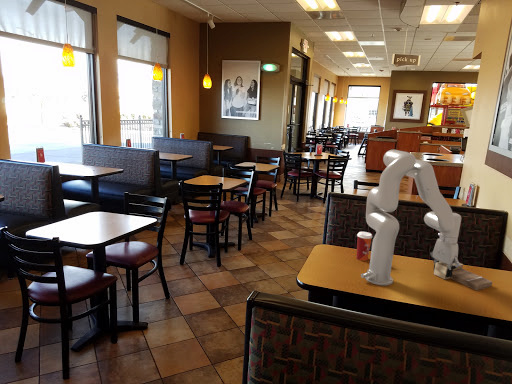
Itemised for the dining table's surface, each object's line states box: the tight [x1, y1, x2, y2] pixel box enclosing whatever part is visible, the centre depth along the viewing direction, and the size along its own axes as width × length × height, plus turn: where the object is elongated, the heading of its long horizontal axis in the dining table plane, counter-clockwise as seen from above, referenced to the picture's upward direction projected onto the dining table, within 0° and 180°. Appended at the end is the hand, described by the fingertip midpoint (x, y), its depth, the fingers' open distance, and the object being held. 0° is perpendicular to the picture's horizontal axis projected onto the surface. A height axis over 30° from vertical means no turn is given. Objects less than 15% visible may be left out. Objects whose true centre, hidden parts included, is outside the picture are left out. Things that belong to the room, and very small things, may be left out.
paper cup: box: [356, 231, 373, 262], centre depth 194 cm, size 8×8×14 cm
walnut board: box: [449, 268, 493, 292], centre depth 177 cm, size 20×11×3 cm, turn 27°
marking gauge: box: [433, 261, 464, 280], centre depth 181 cm, size 6×15×6 cm, turn 117°
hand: (442, 273), depth 178 cm, fingers open, 6 cm apart
